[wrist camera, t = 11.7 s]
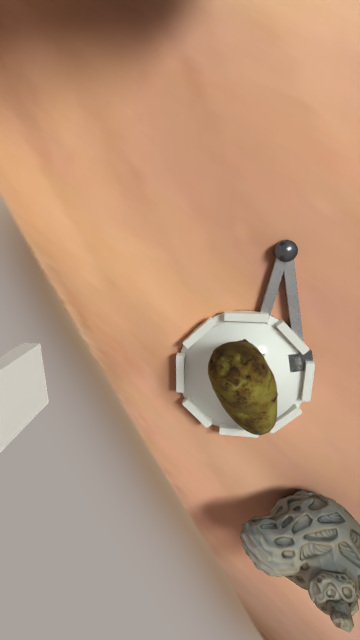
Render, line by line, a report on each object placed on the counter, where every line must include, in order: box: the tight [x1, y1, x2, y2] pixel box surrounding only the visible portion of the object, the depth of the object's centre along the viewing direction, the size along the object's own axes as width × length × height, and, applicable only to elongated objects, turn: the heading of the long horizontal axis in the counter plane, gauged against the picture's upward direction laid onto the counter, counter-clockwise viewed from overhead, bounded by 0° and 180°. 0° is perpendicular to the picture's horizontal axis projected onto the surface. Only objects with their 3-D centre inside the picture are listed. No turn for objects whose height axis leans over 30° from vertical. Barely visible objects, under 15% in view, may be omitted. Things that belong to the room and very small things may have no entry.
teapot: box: [240, 490, 360, 632], centre depth 39 cm, size 21×12×15 cm, turn 77°
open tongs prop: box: [259, 240, 313, 372], centre depth 38 cm, size 16×9×1 cm, turn 0°
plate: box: [176, 310, 315, 438], centre depth 41 cm, size 17×17×2 cm
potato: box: [208, 339, 278, 435], centre depth 37 cm, size 8×13×8 cm, turn 1°
